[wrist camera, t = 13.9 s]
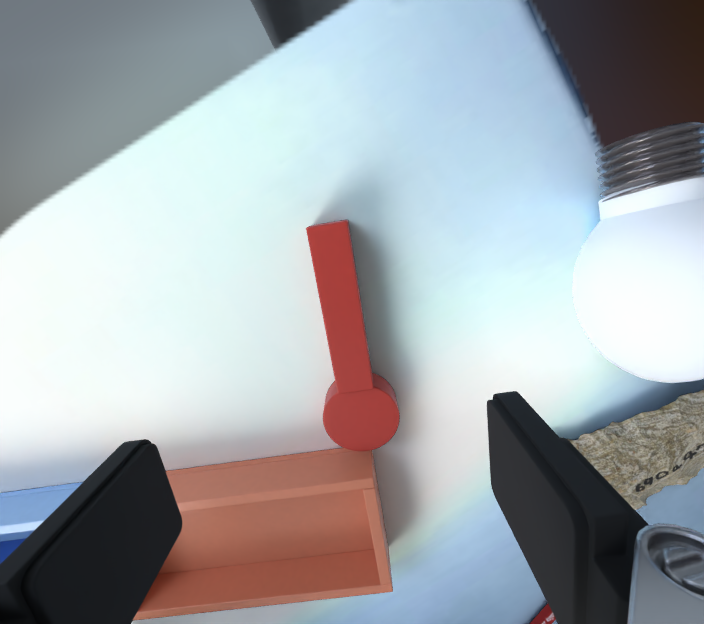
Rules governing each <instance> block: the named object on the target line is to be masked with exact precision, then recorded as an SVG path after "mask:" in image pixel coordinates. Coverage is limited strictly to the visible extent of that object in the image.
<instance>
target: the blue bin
mask: <svg viewBox="0 0 704 624" xmlns="http://www.w3.org/2000/svg"><path fill="white" fill-rule="evenodd" d="M82 483H83V482H80V483H72V484H65V485H57V486H49V487H42V488H34V489H27V490H19V491H12V492H4V493H0V542H1V541H9V540H17V539H25V538H27V537H28V536H29V535H30V534H31V533H32V532H33V531H34V530H35V529H36V528H37V527H38V526H39V525H40V524H41V523H42V522H43V521H44V520H45V519H47V518H48V517H49V516H50V515H51V514H52V513H53V512H54V511H55V510H56V509H57V508H58V507H59V506H60V505H61V504H62V503H63V502H64V501H65V500H66V499H67V498H68V497H69V496H70V495H71V494H72V493H73V492H74V491H75V490H76V489H77V488H78V487H79V486H80V485H81V484H82Z"/></svg>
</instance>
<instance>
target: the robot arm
mask: <svg viewBox="0 0 704 624" xmlns="http://www.w3.org/2000/svg"><path fill="white" fill-rule="evenodd" d="M487 417H488V435H489V454H490V473H491V485H492V489H493V493H494V495H495V498H496V500H497V502H498V504H499V506H500V508H501V510H502V512H503V514H504V516H505V518H506V520H507V522H508V524H509V526H510V528H511V530H512V532H513V534H514V536H515V538H516V540H517V542H518V544H519V546H520V548H521V550H522V552H523V554H524V556H525V558H526V560H527V562H528V564H529V566H530V568H531V570H532V572H533V574H534V576H535V578H536V580H537V582H538V584H539V586H540V588H541V590H542V592H543V594H544V596H545V598H546V600H547V602H548V604H549V606H550V608H551V610H552V612H553V614H554V616H555V618H556V621H557V623H558V624H704V534H701V533H699V532H697V531H694V530H692V529H688V528H685V527H681V526H677V525H671V524H654V525H648V523H647V522H646V521H645V520H644V519H643V518H642V517H641V516H640V515H639V514H638V513H637V512H636V511H635V510H634V509H633V508H632V507H631V506H630V504H629V503H628V502H627V501H626V500H625V499H624V498H623V497H622V496H621V495H620V494H619V493H618V492H617V491H616V490H615V489H614V488H613V487H612V485H611V484H610V483H609V482H608V481H607V480H606V479H605V478H604V477H603V476H602V475H601V474H600V473H599V472H598V471H597V470H596V469H595V468H594V466H593V465H592V464H591V463H590V462H589V461H588V460H587V459H586V458H585V457H584V456H583V455H582V454H581V453H580V452H579V451H578V450H577V449H576V447H575V446H574V445H573V444H572V443H571V442H570V441H568V440H567V439H565V438H562V437H561V438H559V437H558V436H557V435H556V433H555V432H554V431H553V430H552V429H551V428H550V427H549V426H548V425H547V424H546V423H545V421H544V420H543V419H542V418H541V417H540V416H539V415H538V414H537V413H536V412H535V411H534V409H533V408H532V407H531V406H530V405H529V404H528V403H527V402H526V401H525V400H524V399H523V397H522V396H521V395H520V394H519V393H518V392H516V391H513V392H506V393H498V394H494V396H493V400H488V401H487ZM181 529H182V517H181V514H180V511H179V508H178V505H177V503H176V500H175V497H174V494H173V491H172V488H171V486H170V483H169V480H168V477H167V474H166V471H165V468H164V466H163V463H162V460H161V457H160V454H159V451H158V449H157V447H156V445H155V444H152V443H151V442H150V441H149V440H146V439H144V440H137V441H129V442H124V443H123V444H122V445H120V446H119V447H118V448H117V449H116V450H115V451H114V452H113V453H112V454H111V455H110V456H109V457H108V458H107V459H106V460H105V461H104V462H103V463H102V464H101V465H100V466H99V467H98V468H97V469H96V470H95V471H94V472H93V473H92V474H91V475H90V476H89V477H88V478H87V479H86V480H85V481H84V482H83V483H82V484H81V485H80V486H79V487H78V488H77V489H76V490H75V491H74V492H73V493H72V494H71V495H70V496H69V497H68V498H67V499H66V500H65V501H64V502H63V503H62V504H61V505H60V506H59V507H58V508H57V509H56V510H55V511H54V512H53V513H52V514H51V515H50V516H49V517H48V518H47V519H45V520H44V521H43V522H42V523H41V524H40V525H39V526H38V527H37V528H36V529H35V530H34V531H33V532H32V533H31V534H30V535H29V536H28V537H27V538H26V539H25V540H24V541H23V542H22V543H21V544H20V545H19V546H18V547H17V548H16V549H15V550H14V551H13V552H12V553H11V554H10V555H9V556H8V557H7V558H6V559H5V560H4V561H3V562H2V563H1V564H0V624H131V622H132V621H133V619H134V617H135V615H136V613H137V611H138V610H139V608H140V606H141V604H142V602H143V600H144V599H145V597H146V595H147V593H148V591H149V589H150V588H151V586H152V584H153V582H154V580H155V579H156V577H157V575H158V573H159V571H160V569H161V568H162V566H163V564H164V562H165V560H166V558H167V557H168V555H169V553H170V551H171V549H172V547H173V546H174V544H175V542H176V540H177V538H178V536H179V535H180V532H181Z"/></svg>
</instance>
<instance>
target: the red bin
mask: <svg viewBox="0 0 704 624" xmlns="http://www.w3.org/2000/svg"><path fill="white" fill-rule="evenodd" d="M166 474H167V477H168V480H169V483H170V486H171V488H172V491H173V494H174V497H175V500H176V503H177V505H178V508H179V511H180V514H181V517H182V529H181V532H180V535H179V536H178V538H177V540H176V542H175V544H174V546H173V547H172V549H171V551H170V553H169V555H168V557H167V558H166V560H165V562H164V564H163V566H162V568H161V569H160V571H159V573H158V575H157V577H156V579H155V580H154V582H153V584H152V586H151V588H150V589H149V591H148V593H147V595H146V597H145V599H144V600H143V602H142V604H141V606H140V608H139V610H138V611H137V613H136V615H135V617H134V619H133V620H141V619H150V618H159V617H168V616H177V615H186V614H195V613H204V612H213V611H223V610H232V609H241V608H250V607H259V606H268V605H277V604H286V603H295V602H304V601H313V600H322V599H331V598H340V597H349V596H358V595H367V594H376V593H385V592H392V591H393V587H392V577H391V568H390V558H389V548H388V542H387V536H386V530H385V525H384V519H383V513H382V507H381V501H380V495H379V489H378V483H377V477H376V471H375V465H374V460H373V454H372V450H369V451H353V450H349V449H346V448H337V449H329V450H322V451H314V452H307V453H299V454H291V455H284V456H276V457H269V458H261V459H254V460H246V461H238V462H231V463H223V464H216V465H208V466H201V467H193V468H186V469H178V470H170V471H166Z"/></svg>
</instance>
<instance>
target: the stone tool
mask: <svg viewBox="0 0 704 624" xmlns="http://www.w3.org/2000/svg"><path fill="white" fill-rule="evenodd" d="M567 440H568V441H570V442H571V443H572V444H573V445H574V446H575V447H576V449H577V450H578V451H579V452H580V453H581V454H582V455H583V456H584V457H585V458H586V459H587V460H588V461H589V462H590V463H591V464H592V465H593V466H594V468H595V469H596V470H597V471H598V472H599V473H600V474H601V475H602V476H603V477H604V478H605V479H606V480H607V481H608V482H609V483H610V484H611V485H612V487H613V488H614V489H615V490H616V491H617V492H618V493H619V494H620V495H621V496H622V497H623V498H624V499H625V500H626V501H627V502H628V503H629V504H630V506H631V507H632V508H633V509H634V510H636V509H639V508H641V507H642V506H643V505H647V504H646V499H647V498H648V497H649V496H651V495H653V494H655V493H657V492H659V491H661V490H662V489H663V487H665V486H669V485H677V484H679V485H684V484H687V483H688V482H689V480H690V479H691V478H693V477H695V476H696V475H697V474H698V472H699V470H701V469H702V468H704V390H701V391H699V392H696V393H689V394H686V395H681V396H679V397H678V398H677V400H676V401H674V402H672V403H670V404H668V405H666V406H662V407H661V408H660V409H658V410H655V411H649V412H642V413H640V414H637V415H635V416H634V417H632V418H630V419H627V420H625V421H623V422H620V423H616V422H611V423H610V425H609V426H607V427H605V428H603V429H598V430H596V431H594V432H593V433H589V434H583V435H580V437H579V439H578V440H569V439H567Z"/></svg>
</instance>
